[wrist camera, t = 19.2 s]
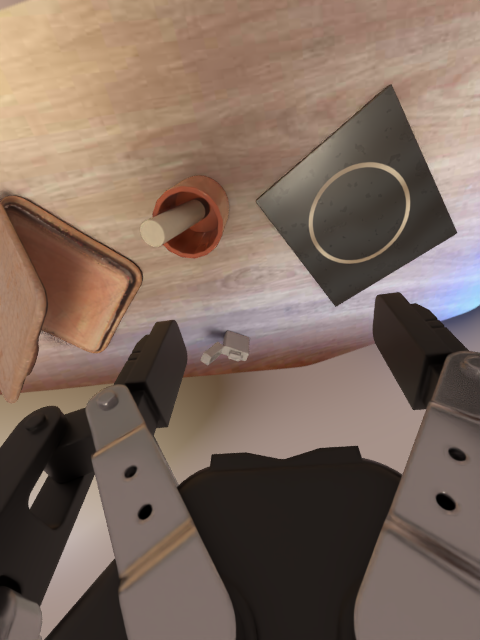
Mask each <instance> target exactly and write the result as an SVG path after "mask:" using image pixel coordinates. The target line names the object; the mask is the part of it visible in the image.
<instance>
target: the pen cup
mask: <svg viewBox="0 0 480 640" xmlns="http://www.w3.org/2000/svg"><path fill="white" fill-rule="evenodd" d="M195 198H203V199H204V200H206V201H207V203H208V205H209V209H210V210H209V214H208V216H207V217H206V218H204V219H203V220H201V221H199V222H198V223H196V224H195V225H193V226H191V227H190V228H188V229H187V230H185V231H183V232H182V233H180V234H179V235H177V236H175V237H174V238H172V239H171V240H169V241H167V242H166V243H164V244H163V245H164V246H165V247H166V248H167V249H168V250H169V251H170V252H172V253H174V254H176V255H178V256H181V257H185V258H198V257H201V256H205V255H207V254H209V253H210V252H211V251H212V250H213V249H214V248H216V246H217V245H218V243H219V241H220V239H221V237H222V234H223V231H224V228H225V225H226V222H227V218H228V213H229V202H228V198H227V195H226V193H225V191H224V189H223V188H222V187H221V186H220V184H219V183H217V182H216V181H215V180H213V179H211V178H209V177H206V176H202V175H196V176H191V177H189V178H186V179H184V180H182V181H181V182H179V183H178V184H176V185H175V186H173V187H172V188H170V189H168V190H167V191H166V192H165V193H164V194H163V195H162V196H161V197H160V198H159V199H158V200H157V202H156V205H155V208H154V211H153V214H152V215H153V217H155V216H157V215H159V214H161V213H164V212H166V211H168V210H170V209H173V208H175V207H177V206H179V205H182V204H184V203H186V202H188V201H191V200H193V199H195Z"/></svg>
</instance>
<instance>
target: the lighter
mask: <svg viewBox="0 0 480 640" xmlns="http://www.w3.org/2000/svg"><path fill="white" fill-rule="evenodd" d="M221 353H222V354H224V355H227V356H228V358H229V359H232V360H235V361H239V360H243V361H246V359H247V357H248V355H249V337H246V336H243V335H240V334H237V333H234V332H231V331H226V334H225V336H224V340H223V345H222V344H220V343H219V342H217V343H215V344H214V345H213V346H212V347H210V348H209V349H208V350H207V351H205V352H204V354H203V356H202V358H201V361H202V362H204V363H205V364H206V365H209V364H210V363H212V362H213V361H214V360H215V359H216V358H217V357H218V356H219V355H220V354H221Z"/></svg>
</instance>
